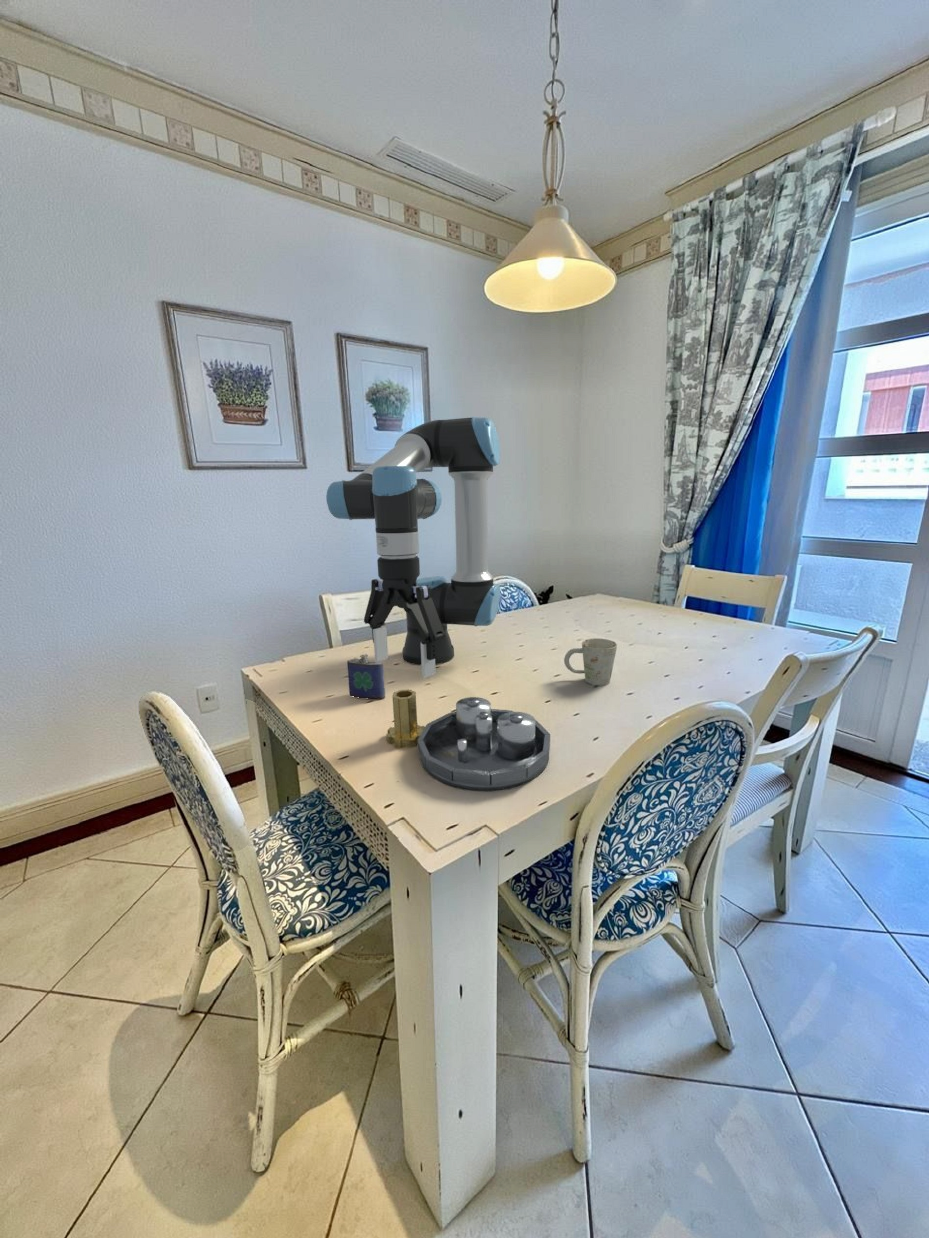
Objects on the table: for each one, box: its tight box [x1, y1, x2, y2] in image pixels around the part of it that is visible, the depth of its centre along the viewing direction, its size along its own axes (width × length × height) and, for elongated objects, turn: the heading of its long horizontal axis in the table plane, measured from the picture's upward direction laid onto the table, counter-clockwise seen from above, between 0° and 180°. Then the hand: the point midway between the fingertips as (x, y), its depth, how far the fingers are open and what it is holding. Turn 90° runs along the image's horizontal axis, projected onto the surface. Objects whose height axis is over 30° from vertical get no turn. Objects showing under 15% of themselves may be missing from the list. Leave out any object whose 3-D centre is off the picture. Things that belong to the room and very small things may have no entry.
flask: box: [346, 653, 386, 700], centre depth 117 cm, size 9×3×11 cm, turn 74°
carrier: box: [416, 696, 551, 792], centre depth 91 cm, size 24×24×8 cm
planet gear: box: [386, 689, 425, 749], centre depth 97 cm, size 8×8×10 cm
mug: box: [563, 637, 618, 686], centre depth 123 cm, size 8×13×10 cm, turn 78°
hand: (404, 667), depth 94 cm, fingers open, 13 cm apart
